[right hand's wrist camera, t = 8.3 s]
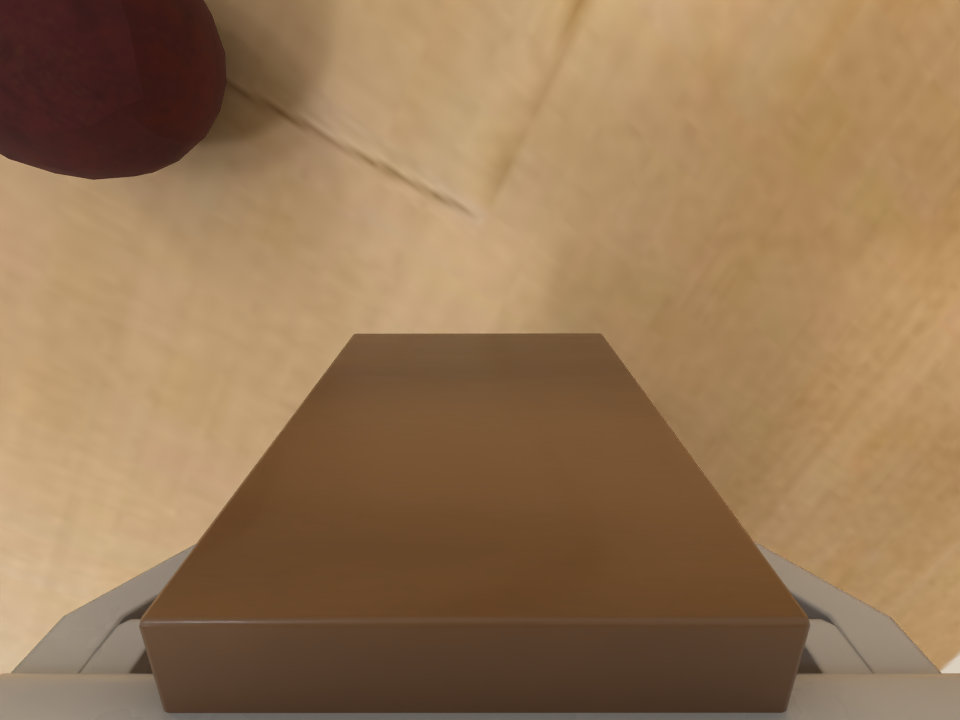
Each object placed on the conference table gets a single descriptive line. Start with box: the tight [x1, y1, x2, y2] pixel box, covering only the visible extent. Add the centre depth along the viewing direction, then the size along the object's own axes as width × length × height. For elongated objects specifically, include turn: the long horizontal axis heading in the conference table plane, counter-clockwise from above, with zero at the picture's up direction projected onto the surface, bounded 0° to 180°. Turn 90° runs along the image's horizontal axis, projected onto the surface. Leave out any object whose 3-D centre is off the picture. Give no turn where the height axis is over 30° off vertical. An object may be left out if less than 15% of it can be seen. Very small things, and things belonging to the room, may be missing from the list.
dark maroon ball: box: [0, 0, 226, 180], centre depth 15 cm, size 7×8×7 cm
